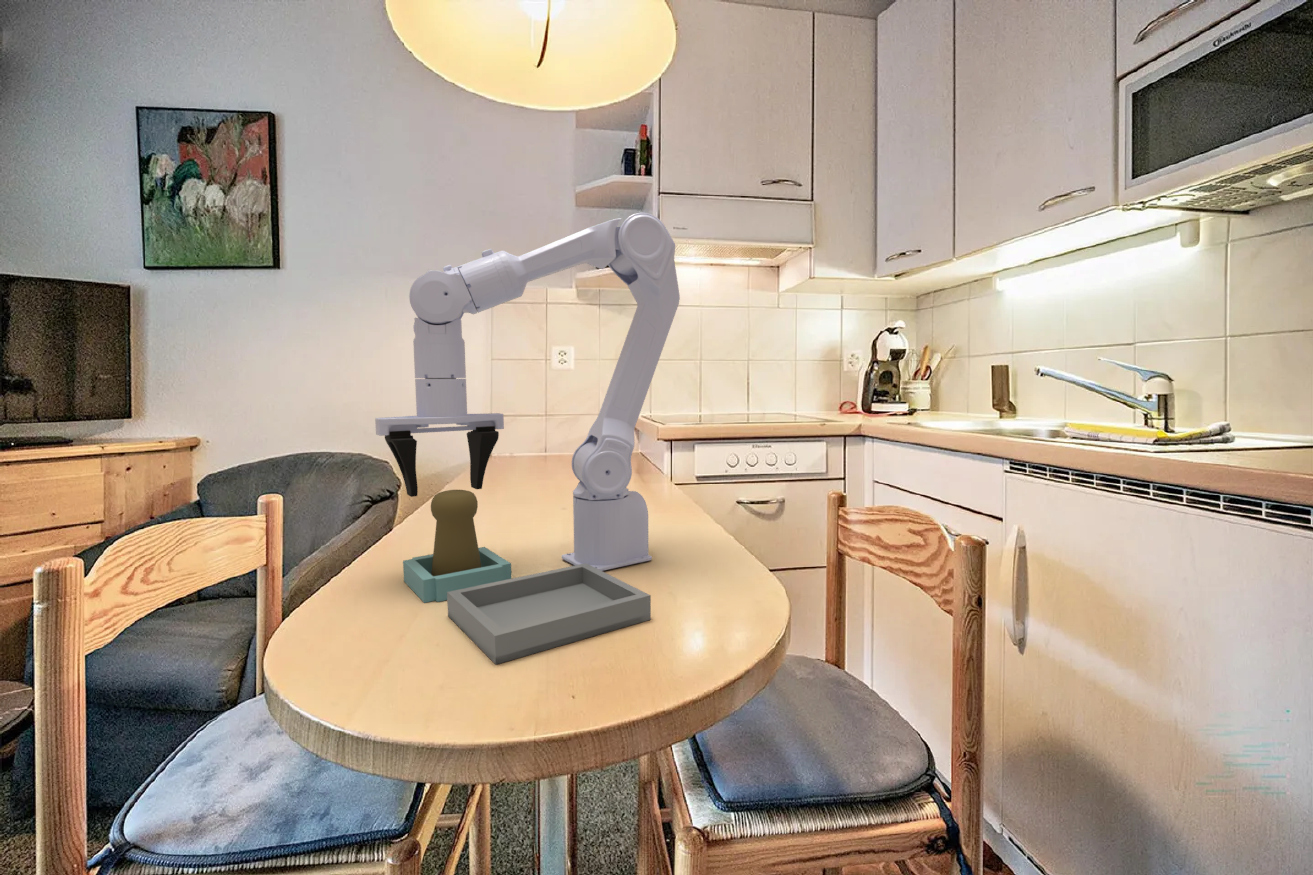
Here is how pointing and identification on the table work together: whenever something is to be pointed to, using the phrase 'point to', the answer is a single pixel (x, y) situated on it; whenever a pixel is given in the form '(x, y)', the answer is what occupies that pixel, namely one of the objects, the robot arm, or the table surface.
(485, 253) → the robot arm
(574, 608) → the charcoal tray
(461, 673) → the table surface
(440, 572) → the cork
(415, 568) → the teal collar
